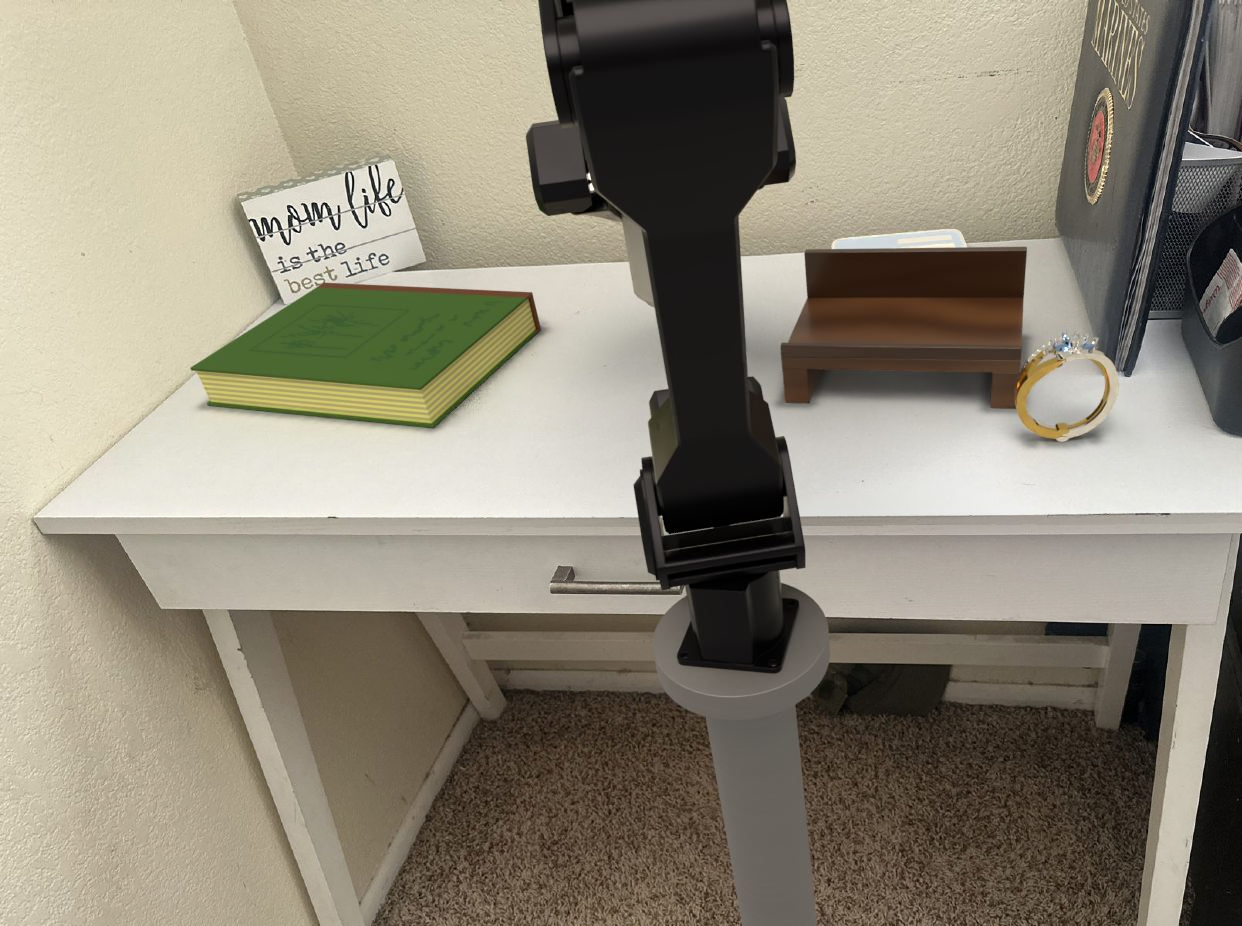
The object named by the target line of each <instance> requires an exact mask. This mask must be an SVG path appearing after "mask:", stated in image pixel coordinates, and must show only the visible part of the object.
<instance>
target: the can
mask: <svg viewBox="0 0 1242 926" xmlns="http://www.w3.org/2000/svg"><path fill="white" fill-rule="evenodd" d="M621 216H622V222H621V224H622V231H623V236H624V237H623V238H624V242H625V247H626V253H627V260H628V266H629V271H630V276H631V283H632V288H633V293H634V295H635V296H636V297H637V298H638V299H640V300H641V301H643V302H645V303H646V304H647V306H649V307H652V308H653V309H655V307H654V301H653V295H652V289H651V283H650V277H649V272H648V266H647V260H646V254H645V248H644V242H643V236H642V230H641V229H640V228H639V227H638V226H637V225H636V224H634V223H633V222H632V221H631V220H629V219H628V218H627V217H626V216H625V215H623V214H622V213H621Z"/></svg>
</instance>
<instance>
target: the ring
mask: <svg viewBox="0 0 1242 926" xmlns="http://www.w3.org/2000/svg"><path fill="white" fill-rule="evenodd" d="M1089 337H1090V334H1089V333H1085V334H1084V336H1083V335H1081V334H1080V331H1078V330H1075V331H1074V334H1073V335H1070V334H1068V330H1063V329H1062V331H1061V335H1059V336H1056V337H1054V338H1051V339H1050V340H1048V341H1046V342H1045V343H1043V344H1042V345H1041V346H1040V347H1038V348H1037V349H1036V350H1035V351H1034V352H1032V353H1031V354H1030V355H1029V357H1028V358H1027V359H1026V360H1025V362H1024V363H1023V366H1022V367H1021V368H1020V373H1019V376H1018V378H1017V381H1016V385H1015V390H1014V399H1015V405H1016V408H1015V409H1016V412H1017V416H1018V418H1019V420H1020V422H1021V423H1022V424H1023V426H1024V427H1025V428H1027V429H1028V430H1029V431H1030V432H1031V433H1033V434H1035V435H1037V436H1039V437H1042V438H1047V439H1054V440H1056V441H1057V442H1060V443H1063V442H1068V441H1069V439H1071V438H1075V437H1079V436H1081V435H1084V434H1086V433H1088V432H1090V431H1092V430H1093V429H1095V428H1096V427H1097V426H1099V425H1100V424H1101V423H1103V421H1104V420H1106V418H1107V417H1108V416H1109V414H1110V413H1111V411H1112V410H1113V408H1114V406H1115V405H1116V402H1117V400H1118V396H1119V392H1120V381H1119V375H1118V371H1117V369H1116V366H1115V364H1114V362H1113V361H1112V359H1111V357H1110V356H1109V355H1107V354H1106V353H1105V352H1102V351H1101V350H1099V349H1098V348H1097V345H1098V343H1099V340H1100V337H1097V336H1094V337H1093V339H1092V341H1091V343H1088V340H1089ZM1049 354H1051V355H1053V356H1055V357H1052V358H1050V359H1047V360H1045V361H1043V362H1041V361H1042V360H1044V359H1045V358H1046V357H1047V356H1048V355H1049ZM1083 359H1084V360H1090V361H1091V362H1093V363H1094V364H1095V365H1096V366H1097V367H1098V368H1099V369H1100V371H1101V373H1102V374H1103V378H1104V391H1103V395H1102V397H1101V400H1100V402H1099V403H1098V405H1097V407H1096V408H1095V409H1094V410H1093V411H1092V412H1091V413H1090V414H1089V415H1088V416H1087V417H1085V418H1084V419H1082V420H1080V421H1077V422H1075V423H1070V424H1067V423H1066V422H1058V423H1056V424H1055V425H1049V424H1046V423H1045V424H1044V423H1042V422H1040V421H1038V420H1036V419H1035V418H1034V417H1032V416H1031V415H1030V413H1029V412H1028V410H1027V398H1028V396H1029V394H1030V391H1031V390H1032V389H1033V387H1034V386H1036V384H1037V383H1038V382H1039V381H1040V380H1041V379H1043V378H1044V377H1045V376H1047V375H1048V374H1050V373H1052V372H1053V371H1055V370H1056V369H1058V368H1060V367H1063V364H1064V363H1065V362H1071V361H1076V360H1083ZM1040 362H1041V363H1040Z"/></svg>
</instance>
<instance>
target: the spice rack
mask: <svg viewBox="0 0 1242 926" xmlns="http://www.w3.org/2000/svg"><path fill="white" fill-rule="evenodd" d="M803 254H804V268H805V285H806V297H807V298H806V299H805V302H804V305H803V307H802V309H801V311H800V314H799V316H798V318H797V321H796V323H795V326H794V328H793V330H792V332H791V334H790V337H789V339H788V341H787V342H781V343H780V346H779V347H780V359H781V370H782V371H781V372H782V381H783V392H784V402H785V403H791V404H792V403H793V404H796V403H798V404H809V403H810V402H811V400H812V396H813V394H814V391H815V388H816V386H817V383H818V380H819V378H820V375H821V372H822V370H830V371H831V370H833V371H834V370H836V371H838V370H839V371H887V372H888V371H889V372H890V371H892V372H893V371H895V372H896V371H897V372H949V373H951V372H952V373H953V372H954V373H955V372H956V373H960V372H961V373H991V385H990V386H991V389H990V408H991V409H992V408H993V409H995V408H996V409H997V408H999V409H1016V405H1015V399H1014V390H1015V385H1016V381H1017V378H1018V376H1019V373H1020V371H1021V365H1022V350H1023V349H1022V348H1023V345H1022V343H1023V321H1024V300H1025V299H1024V298H1025V285H1026V272H1027V271H1026V270H1027V269H1026V267H1027V256H1028V255H1027V254H1028V246H972V247H971V246H970V247H968V246H967V247H956V248H876V249H831V248H810V249H809V248H808V249H807V248H806V249H805V251H804V253H803Z"/></svg>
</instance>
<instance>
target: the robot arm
mask: <svg viewBox="0 0 1242 926" xmlns="http://www.w3.org/2000/svg"><path fill="white" fill-rule="evenodd" d="M537 3H538V8H539V9H538V10H539V11H538V12H539V20H540V29H541V37H542V45H543V51H544V56H545V57H544V58H545V63H546V68H547V74H548V80H549V85H550V90H551V95H552V98H553V104H554V107H555V112H556V115H557V119H556V120H549V121H542V122H541V121H540V122H534V123H532V124H531V125H530V127H529V129H528V130H527V132H526V134H525V142H526V149H527V157H528V163H529V171H530V179H531V185H532V186H531V187H532V191H533V196H534V200H535V202H536V205H537V208H538V210H539V211H540V212H541V213H543V214H544V215H546V216H547V217H552V216H559V215H566V214H571V215H572V216H589V217H595V218H601V219H604V220H608V221H612V222H615V223H622V216H621V213H622V214H623V215H625V216H626V217H627V218H628V219H629V220H631V221H632V222H633V223H634V224H636V225H637V226H638V227H639V228H640V229H641V230H642V236H643V242H644V248H645V254H646V260H647V266H648V272H649V277H650V283H651V289H652V295H653V301H654V307H655V308H654V307H653V308H654V313H655V319H656V325H657V330H658V337H659V342H660V348H661V355H662V360H663V365H664V367H663V368H664V372H665V378H666V384H667V388H665V389H659V390H654V391H653V392H652V394H651V396H650V399H649V401H648V406H649V413H650V418H649V419H648V421H647V428H648V435H649V444H650V452H651V455H649V456H644V457H641V459H640V461H641V468H640V469H639V476H638V477H637V479H636V480H635V482H634V483H633V485H632V486H633V491H634V500H635V505H636V509H637V510H636V511H637V517H638V524H639V530H640V536H641V542H642V543H641V544H642V549H643V555H644V559H645V565H646V570H647V573H648V574H650V575H652V576H654V577H655V581H656V582H659V585H660V589H661V591H668V590H671V589H672V588H678V587H684V588H685V593H686V596H687V600H688V605H689V611H690V617H691V621H690V624H689V626H688V629H687V631H686V634H685V636H684V638H683V641H682V643H681V646H680V648H679V651H678V653H677V661H678V663H679V664H680V665H683V666H693V667H704V668H715V669H726V670H737V671H748V672H759V673H770V674H776V673H779V672H780V671H781V670H782V668H783V664H784V661H785V657H786V654H787V650H788V647H789V643H790V640H791V636H792V633H793V629H794V626H795V623H796V619H797V616H798V612H799V601H798V600H797V599H793V598H782V590H781V583H782V582H781V571H784V570H791V569H796V570H801V569H806V544H805V539H804V538H805V537H804V532H803V527H802V521H801V515H800V509H799V504H798V503H799V502H798V498H797V492H796V486H795V481H794V480H795V479H794V475H793V469H792V463H791V456H790V453H789V452H790V451H789V447H788V443H787V439H786V436H785V435H781V436H776V433H775V428H774V422H773V419H772V412H771V409H770V405H769V403H768V402H767V401H766V400H765V399H764V394H763V390H762V384H761V383H760V382H759V381H758V379H756V378H755V376H754V375H752V376H749V371H748V358H747V356H748V355H747V341H746V340H747V338H746V337H747V336H746V322H745V306H744V290H743V289H744V288H743V271H742V254H741V239H740V238H741V237H740V218H739V217H740V214H741V213H742V212H743V210H744V209H745V207H746V206H747V205H748V204H749V202H750V201H751V200H752V199H753V197H754V195H755V194H756V193H757V192H758V191H760V190H762V189H764V188H765V187H766V186H772V185H779V184H786V183H789V182H790V181H791V180H792V178H793V177H794V176H795V173H796V167H797V156H796V155H797V153H796V146H795V141H794V136H793V130H792V124H791V119H790V113H789V107H788V102H787V101H788V100H787V99H786V98H792V96H793V93H794V88H795V87H794V86H795V55H794V54H795V53H794V43H793V42H794V40H793V32H792V25H791V18H790V10H789V6H788V5H789V4H788V0H537ZM665 533H667V534H665ZM684 657H687V658H684ZM772 665H775V666H772Z"/></svg>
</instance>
